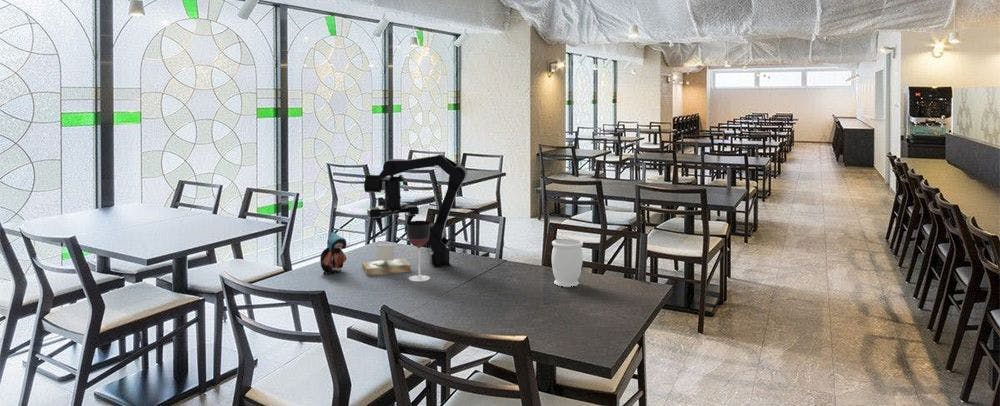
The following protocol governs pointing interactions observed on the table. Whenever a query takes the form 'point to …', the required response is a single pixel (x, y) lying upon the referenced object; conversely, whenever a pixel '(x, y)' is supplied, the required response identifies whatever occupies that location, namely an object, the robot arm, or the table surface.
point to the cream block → (385, 252)
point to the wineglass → (418, 241)
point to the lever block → (386, 267)
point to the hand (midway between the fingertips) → (393, 233)
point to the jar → (567, 261)
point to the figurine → (333, 255)
